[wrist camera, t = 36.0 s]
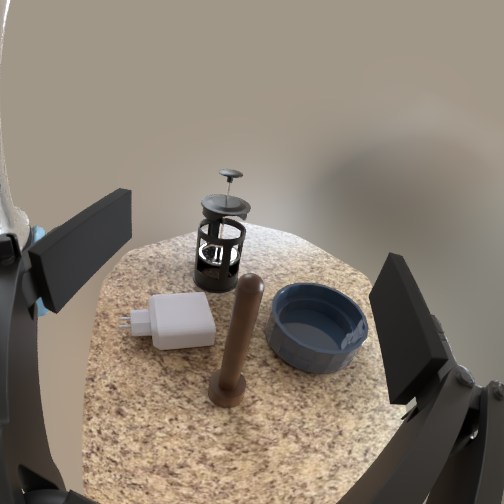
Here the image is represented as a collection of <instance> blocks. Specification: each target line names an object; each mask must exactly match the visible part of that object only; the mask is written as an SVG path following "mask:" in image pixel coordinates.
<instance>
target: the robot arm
mask: <svg viewBox="0 0 504 504" xmlns="http://www.w3.org/2000/svg"><path fill="white" fill-rule="evenodd" d="M9 3H10V0H0V70H1V57H2V46H3V38H4V31H5V24H6V18H7V13H8V8H9ZM131 238H132V223H131V190H127V189H121V188H119V189H117V190H115V191H114V192H112V193H110V194H109V195H107V196H105V197H104V198H102V199H101V200H99V201H98V202H96V203H94V204H93V205H91V206H90V207H88V208H86V209H85V210H83V211H82V212H80V213H79V214H77V215H76V216H74V217H73V218H72V219H70V220H68V221H67V222H65V223H64V224H63V225H61V226H58V227H56V228H54V229H52V230H51V231H50V232H48V233H47V235H45V231H44V229H43V228H42V227H37V226H33V228H30V223H29V220H28V217H27V215H26V213H25V212H24V211H23V210H22V209H21V208H19V207H17V206H14V205H13V202H12V197H11V193H10V188H9V183H8V177H7V171H6V165H5V159H4V150H3V141H2V130H1V116H0V504H100V503H98V502H96V501H94V500H91V499H89V498H87V497H85V496H83V495H81V494H78V493H76V492H74V491H72V490H70V491H69V492H67V491H66V488H65V485H64V482H63V479H62V476H61V474H60V472H59V470H58V468H57V467H56V465H55V463H54V462H53V460H52V457H51V454H50V450H49V445H48V441H47V435H46V430H45V424H44V418H43V411H42V404H41V396H40V385H39V373H38V352H37V320H38V317H39V316H43V315H45V314H46V313H47V312H48V311H49V310H50V311H52V312H54V313H56V314H57V313H58V312H59V311H60V310H61V309H62V307H64V306H65V304H66V303H67V302H68V301H69V300H70V299H71V298H72V297H73V296H74V295H75V294H76V292H77V291H78V290H79V289H80V288H81V287H82V286H83V285H84V284H85V283H86V282H87V281H88V280H89V279H90V278H91V277H92V276H93V275H94V274H95V273H96V272H97V271H98V270H99V269H100V268H101V266H103V265H104V264H105V263H106V262H107V261H108V260H109V259H110V258H111V257H112V256H113V255H114V254H115V253H116V252H117V251H118V250H119V249H120V248H121V247H122V246H123V245H124V244H125V243H126V242H128V241H129V240H130V239H131ZM369 300H370V304H371V308H372V312H373V317H374V321H375V325H376V330H377V334H378V339H379V344H380V348H381V353H382V359H383V364H384V369H385V375H386V381H387V387H388V393H389V400H390V404H397V405H406V404H408V402H410V401H411V400H412V399H413V398H414V397H416V402H417V404H416V406H414V407H413V408H412V409H411V410H410V411H409V412H408V413H406V414H405V415H404V416H403V417H402V418H401V419H402V420H404V419H405V420H404V421H403V423H402V424H401V426H400V427H399V429H398V430H397V432H396V433H395V435H394V436H393V437H392V439H391V440H390V442H389V443H388V444H387V446H386V447H385V448H384V450H383V451H382V452H381V453H380V455H379V456H378V457H377V459H376V460H375V461H374V462H373V464H372V465H371V466H370V467H369V468H368V470H367V471H366V472H365V473H364V474H363V475H362V477H361V478H360V479H359V480H358V481H357V482H356V483H355V484H354V486H353V487H352V488H351V489H350V490H349V491H348V492H347V493H346V494H345V495H344V496H343V497H342V498H341V499H340V500H339V501H338V502H337V503H336V504H422V503H423V502H424V500H425V499H426V497H427V496H428V494H429V496H428V499H427V502H426V504H501V501H502V495H503V490H504V385H503V384H501V383H500V382H499V381H496V380H493V381H491V382H490V383H489V384H488V385H487V386H486V387H485V388H484V387H482V386H479V385H476V384H475V381H474V378H473V376H472V374H471V373H470V372H469V371H468V370H467V369H466V368H465V367H463V366H459V365H457V362H456V359H455V357H454V354H453V352H452V349H451V347H450V344H449V342H447V341H448V339H447V337H446V335H445V334H444V333H445V332H444V330H443V327H442V325H441V323H440V322H439V321H438V320H437V318H436V317H435V316H434V315H431V314H430V312H429V309H428V307H427V305H426V303H425V300H424V298H423V296H422V294H421V292H420V290H419V288H418V286H417V284H416V282H415V280H414V278H413V276H412V274H411V272H410V270H409V268H408V266H407V264H406V262H405V260H404V258H403V257H402V256H401V255H397V254H393V253H389V255H388V257H387V259H386V261H385V263H384V266H383V268H382V270H381V272H380V274H379V276H378V278H377V280H376V282H375V285H374V286H373V288H372V290H371V292H370V294H369ZM477 430H478V433H477V436H476V437H475V438H474V432H475V431H477ZM22 489H23V491H24V492H25V493H24V494H23V492H22ZM429 492H430V493H429Z"/></svg>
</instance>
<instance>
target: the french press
mask: <svg viewBox="0 0 504 504" xmlns="http://www.w3.org/2000/svg"><path fill="white" fill-rule="evenodd" d="M219 173H220V174H221V175H224V176H227V177H228V178H227V182H229V183H228V189H227V195H209V196H206V197H204V198H203V199H202V202H201V204H202V206H203V215H204V216H205V217H206V219H204V220H202V221H201V222H200V223H199V228H198V237H197V247H196V258H195V270H194V273H193V280H194V282H195V284H196V285H197V286H198V287H200V288H201V289H203V290H206V291H208V292H213V293H223V292H228V291H230V290H232V289H233V288H234V287H235V286H236V285H237V282H238V277H237V276H238V271H239V263H240V257H241V252H242V247H243V242H244V239H245V235H246V229H245V227H244V226H243V225H242V224H241V223H239V222H237V221H235V220H232V219H228V218H225V216H239V217H240V218H241V219H243V220H246V217H247V213H248V212H249V211H250V209H251V207H250V205H249V204H248V203H247V202H246V201H244V200H242V199H240V198H237V197H234V196H229V189H230V183H232V181H233V178H239V177H242V176H243V174H242V173H241V172H239V171H236V170H231V169H223V170H220V171H219ZM220 223H221V224H222V228H221V235H220V239H219V238H218V234H219V227H220ZM207 224H209V227H208V235H207V234H206V233H204V232H203V231H202V230H201V229H200V228H201V227H202V226H204V225H207ZM224 224H227V225H231V226H233V227H236V228H237V229H239V230H240V231H241V234H240V237H239V238H235V239H222V234H223V227H224ZM201 238H202V239H203V240H205V241H206V242H207V243H204V244H202V245H201V246H200V239H201ZM237 244H239V245H238V250H237V249H236V248H235V247H233V246H234V245H237ZM207 268H220V272H219V279H218V278H212V277H208V276H206V275H204V274H202V273H201V271H202V270H204V269H207ZM228 273H229V274H230V275H231V277H228ZM227 277H228V278H227Z"/></svg>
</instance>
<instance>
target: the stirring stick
mask: <svg viewBox="0 0 504 504" xmlns="http://www.w3.org/2000/svg"><path fill="white" fill-rule="evenodd" d="M263 292H264V282H263V280H262V279H261V277H259V276H258V275H256V274H253V273H248V274H245V275H243V276H241V277H240V279H239V280H238V282H237V286H236V291H235V296H234V302H233V307H232V312H231V317H230V323H229V328H228V333H227V338H226V344H225V349H224V354H223V360H222V365H221V369H219V370H217V371H215V372H214V373H213V374H212V375H211V377H210V381H209V388H208V395H209V398H210V400H211V401H212V402H213V403H214V404H216V405H217V406H220V407H223V408H231V407H234V406H236V405H238V404H239V403H240V402H241V400H242V398H243V395H244V392H245V389H246V380H245V378H244V377H243V375H242V374H241V371H242V368H243V364H244V361H245V357H246V354H247V350H248V346H249V343H250V339H251V336H252V332H253V329H254V325H255V321H256V318H257V314H258V310H259V307H260V303H261V299H262V296H263Z"/></svg>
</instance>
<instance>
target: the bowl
mask: <svg viewBox="0 0 504 504" xmlns="http://www.w3.org/2000/svg"><path fill="white" fill-rule="evenodd" d="M265 333H266V337H267V340H268V343H269V345H270V346H271V347H272V349H273V350H274V351H275V353H276V354H277V355H278V356H279V357H280V358H282V359H283V360H284V361H285V362H287V363H288V364H289V365H291V366H294V367H296V368H298V369H301V370H303V371H306V372H312V373H319V374H325V373H331V372H337V371H339V370H341V369H342V368H344V367H346V366H348V365H349V363H350V362H351V361H352V360H353V358H354V357H355V355H356V354H357V352H358V351H359V349H360V348H361V346H362V345H363V343H364V342H365V340H366V338H367V334H368V324H367V320H366V317H365V315H364V314H363V312H362V310H361V309H360V307H359V306H358V305H357V304H356V303H355V302H354V301H353V300H352V299H350V298H349V297H348V296H346V295H344V294H343V293H341V292H340V291H338V290H335V289H333V288H330V287H328V286H325V285H321V284H316V283H294V284H290V285H287V286H285V287H284V288H282V289H280V290H279V291H278V292H277V293H276V295H275V296H274V298H273V300H272V303H271V306H270V309H269V313H268V316H267V319H266V325H265Z"/></svg>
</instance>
